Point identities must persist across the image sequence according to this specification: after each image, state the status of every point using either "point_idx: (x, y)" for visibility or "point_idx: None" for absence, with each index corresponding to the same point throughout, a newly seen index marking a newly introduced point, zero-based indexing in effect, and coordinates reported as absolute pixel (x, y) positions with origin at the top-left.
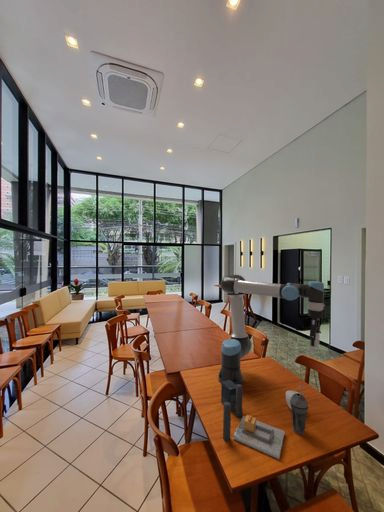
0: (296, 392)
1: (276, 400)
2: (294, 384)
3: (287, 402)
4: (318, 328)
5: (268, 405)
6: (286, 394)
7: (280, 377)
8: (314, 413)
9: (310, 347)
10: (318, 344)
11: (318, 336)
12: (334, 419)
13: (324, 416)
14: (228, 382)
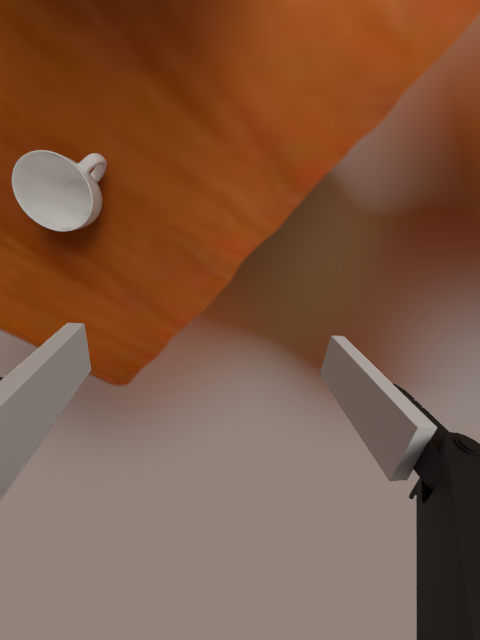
0: (92, 201)
1: (79, 113)
2: (265, 180)
3: (41, 167)
4: (417, 619)
5: (9, 79)
6: (24, 155)
7: (299, 102)
8: (106, 265)
9: (41, 353)
10: (323, 374)
11: (368, 437)
12: (120, 317)
13: (114, 293)
14: None
